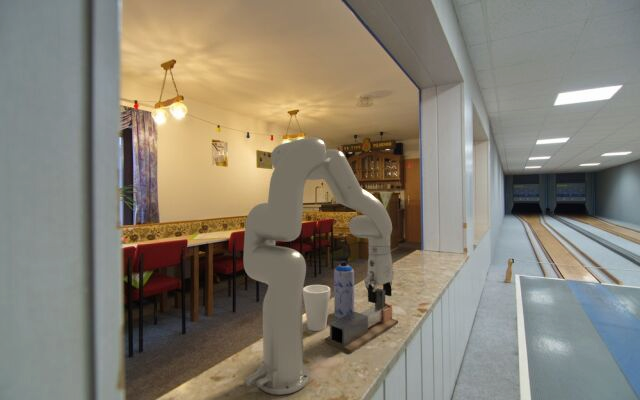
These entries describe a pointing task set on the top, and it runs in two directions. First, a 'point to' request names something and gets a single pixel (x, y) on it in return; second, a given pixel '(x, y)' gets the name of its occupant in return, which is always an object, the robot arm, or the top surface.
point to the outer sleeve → (348, 328)
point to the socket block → (387, 313)
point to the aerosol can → (343, 290)
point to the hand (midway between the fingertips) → (380, 298)
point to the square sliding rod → (376, 309)
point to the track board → (365, 336)
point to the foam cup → (316, 306)
